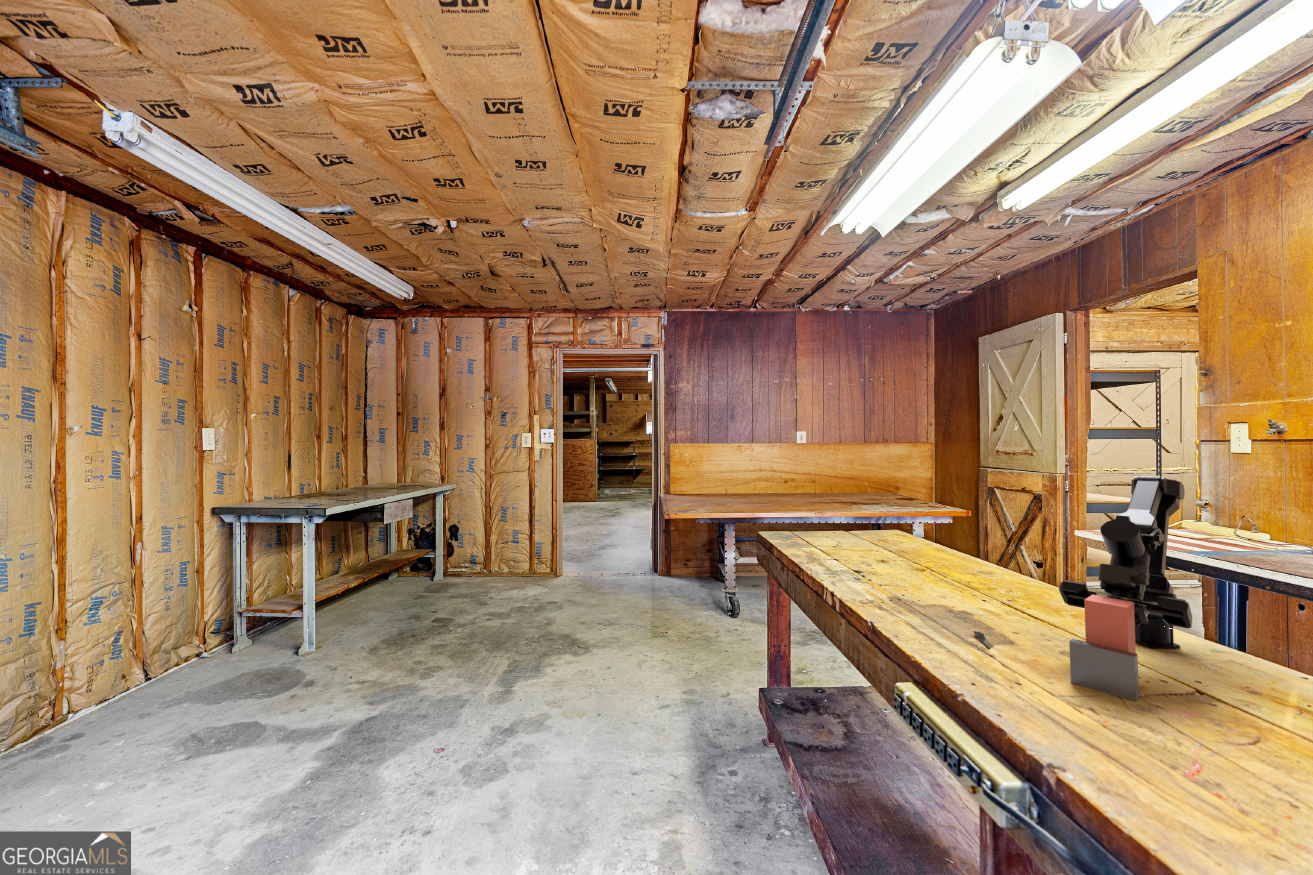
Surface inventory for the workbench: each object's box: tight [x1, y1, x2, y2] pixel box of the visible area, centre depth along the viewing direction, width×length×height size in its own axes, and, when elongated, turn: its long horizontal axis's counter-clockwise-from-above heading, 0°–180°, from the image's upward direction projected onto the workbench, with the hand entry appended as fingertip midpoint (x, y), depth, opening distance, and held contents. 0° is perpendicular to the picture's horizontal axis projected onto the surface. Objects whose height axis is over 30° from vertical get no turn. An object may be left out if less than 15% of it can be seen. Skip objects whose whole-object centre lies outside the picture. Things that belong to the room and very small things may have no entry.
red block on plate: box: [1084, 595, 1137, 654], centre depth 95 cm, size 5×6×15 cm
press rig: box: [1068, 638, 1145, 703], centre depth 95 cm, size 14×10×9 cm
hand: (1114, 640), depth 96 cm, fingers closed
